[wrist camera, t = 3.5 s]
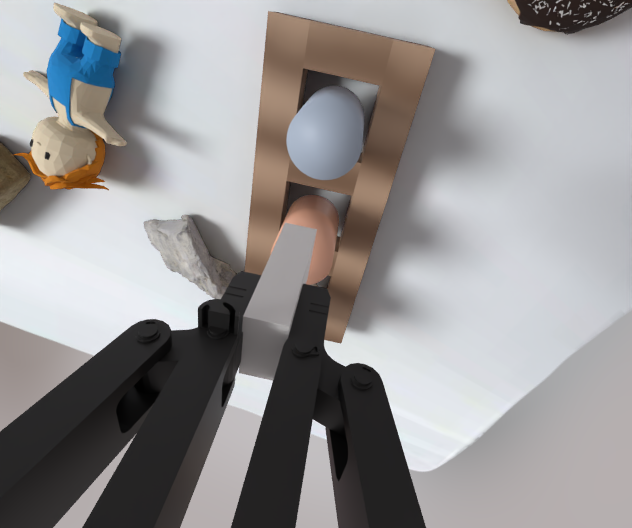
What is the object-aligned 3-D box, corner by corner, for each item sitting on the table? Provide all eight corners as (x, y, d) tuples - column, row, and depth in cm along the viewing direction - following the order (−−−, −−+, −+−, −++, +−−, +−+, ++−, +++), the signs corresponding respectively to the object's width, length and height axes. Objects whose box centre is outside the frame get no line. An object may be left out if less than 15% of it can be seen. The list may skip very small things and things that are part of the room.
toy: (113, 52, 25) (71, 227, 32) (177, 70, 31) (130, 216, 37) (3, -28, 27) (-15, 151, 34) (81, 1, 33) (53, 152, 39)
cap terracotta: (291, 189, 33) (274, 225, 27) (344, 201, 33) (338, 240, 27) (284, 235, 35) (267, 277, 30) (333, 246, 35) (325, 290, 30)
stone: (207, 301, 46) (195, 324, 43) (141, 223, 41) (121, 242, 37) (249, 285, 44) (240, 307, 41) (185, 200, 39) (168, 218, 35)
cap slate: (309, 79, 28) (292, 94, 22) (371, 93, 28) (371, 112, 22) (299, 142, 30) (281, 171, 25) (356, 155, 30) (352, 187, 24)
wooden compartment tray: (277, 12, 28) (268, 11, 26) (429, 46, 28) (435, 48, 26) (247, 303, 45) (239, 320, 43) (342, 325, 45) (341, 343, 43)
